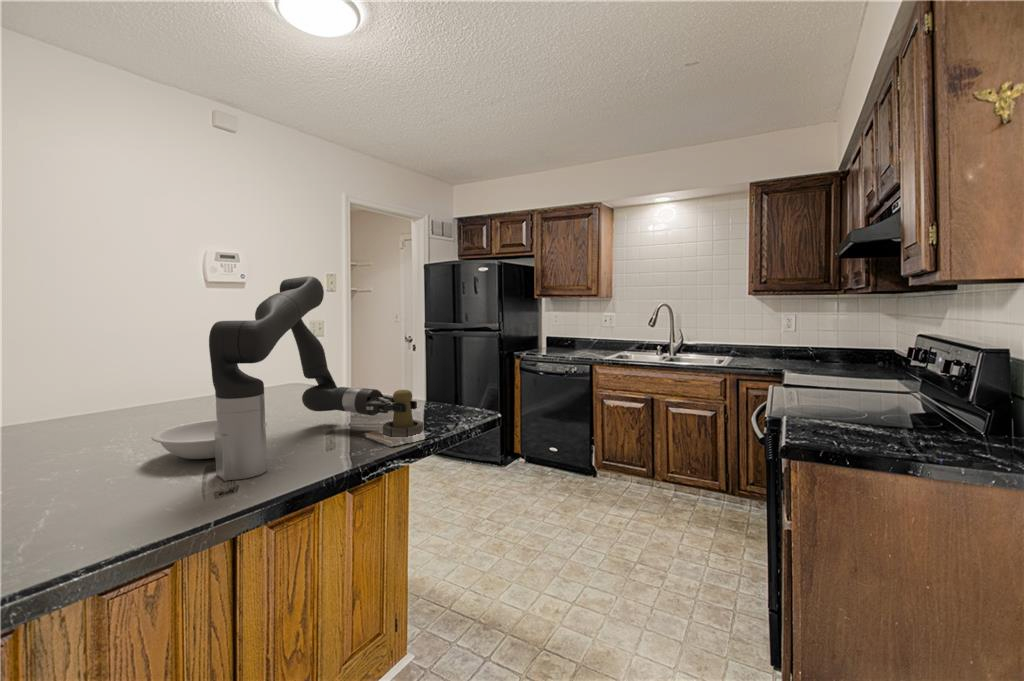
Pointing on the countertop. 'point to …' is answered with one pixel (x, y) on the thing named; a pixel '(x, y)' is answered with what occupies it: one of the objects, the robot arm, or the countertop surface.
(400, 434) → the socket board
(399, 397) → the cork
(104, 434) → the countertop surface
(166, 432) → the soup bowl
